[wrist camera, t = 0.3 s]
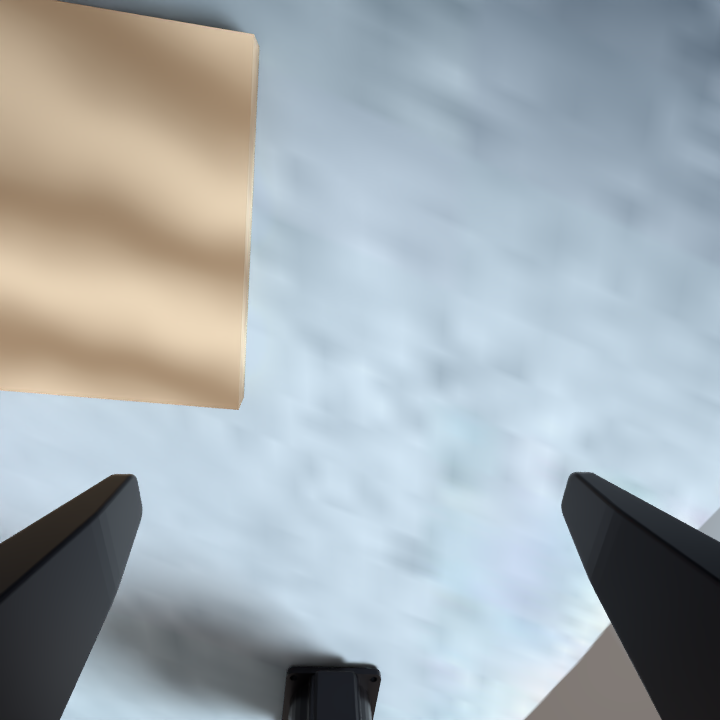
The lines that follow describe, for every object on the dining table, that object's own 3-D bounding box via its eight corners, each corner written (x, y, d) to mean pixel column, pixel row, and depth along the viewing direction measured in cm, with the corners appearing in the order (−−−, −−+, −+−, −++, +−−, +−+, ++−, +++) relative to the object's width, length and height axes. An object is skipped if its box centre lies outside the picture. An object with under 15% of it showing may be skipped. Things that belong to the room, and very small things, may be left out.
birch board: (243, 397, 24) (238, 409, 22) (-87, 369, 22) (-115, 380, 21) (259, 46, 19) (253, 34, 17) (-172, -26, 17) (-217, -47, 15)
